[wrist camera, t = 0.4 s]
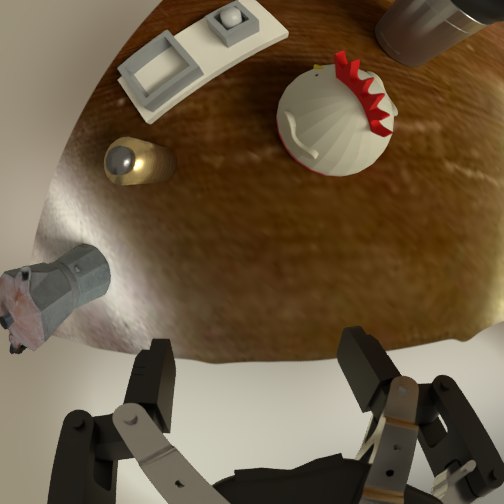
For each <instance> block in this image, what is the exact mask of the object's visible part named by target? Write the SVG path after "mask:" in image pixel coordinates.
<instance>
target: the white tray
mask: <svg viewBox="0 0 504 504" xmlns="http://www.w3.org/2000/svg"><path fill="white" fill-rule="evenodd" d="M288 33H289V32H288V31H287V30H286V29H285V28H284V27H283V26H282V25H281V24H280V23H279V22H278V21H277V20H276V19H275V18H274V17H273V16H272V15H271V14H270V13H269V12H268V11H267V10H266V9H265V8H263V7H262V6H261V5H260V4H259V3H258V2H257V1H256V0H236V1H234V2H232V3H230V4H228V5H226V6H224V7H222V8H220V9H218V10H216V11H214V12H212V13H210V14H208V15H207V16H205V18H203V19H201V20H199V21H198V22H196V23H194V24H193V25H191V26H189V27H188V28H186V29H184V30H183V31H181V32H180V33H178V34H177V35H175V36H174V37H173V35H172V34H171V33H170V32H169V31H168V30H166V31H164V32H163V33H162V34H160V35H159V36H157V37H156V38H154V39H153V40H152V41H150V42H149V43H148V44H146V45H145V46H144V47H142V48H141V49H140V50H138V51H137V52H136V53H135V54H133V55H132V56H131V57H130V58H128V59H127V60H126V61H125V62H124V63H122V64H121V65H120V66H119V67H118V68H117V69H118V70H119V72H120V73H121V75H122V76H121V77H120V78H119V79H118V81H119V83H120V84H121V86H122V87H123V89H124V90H125V92H126V93H127V95H128V96H129V98H130V99H131V101H132V102H133V104H134V105H135V107H136V108H137V110H138V111H139V113H140V114H141V115H142V117H143V118H144V120H145V121H146V123H149V124H152V123H153V122H154V121H156V120H157V119H158V118H159V117H161V116H162V115H163V114H164V113H166V112H167V111H168V110H169V109H171V108H172V107H173V106H175V105H176V104H177V103H179V102H180V101H181V100H183V99H184V98H185V97H187V96H188V95H190V94H191V93H192V92H194V91H195V90H197V89H198V88H200V87H201V86H202V85H204V84H205V83H207V82H208V81H210V80H211V79H213V78H215V77H216V76H218V75H219V74H221V73H222V72H224V71H226V70H227V69H229V68H231V67H232V66H234V65H236V64H237V63H239V62H241V61H243V60H244V59H246V58H248V57H250V56H251V55H253V54H255V53H257V52H259V51H261V50H263V49H265V48H266V47H268V46H270V45H272V44H274V43H276V42H278V41H281V40H283V39H285V38H287V37H288Z"/></svg>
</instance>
